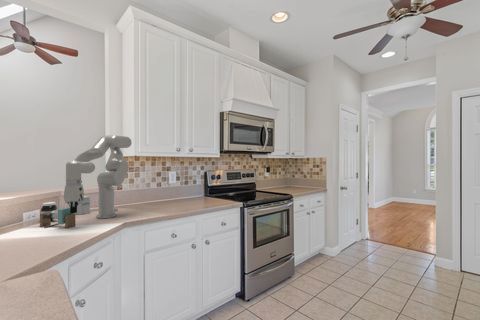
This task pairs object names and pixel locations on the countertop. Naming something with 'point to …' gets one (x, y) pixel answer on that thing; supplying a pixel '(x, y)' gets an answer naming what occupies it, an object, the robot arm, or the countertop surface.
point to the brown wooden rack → (46, 218)
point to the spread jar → (49, 208)
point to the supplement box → (84, 206)
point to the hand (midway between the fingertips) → (73, 212)
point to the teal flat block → (63, 215)
